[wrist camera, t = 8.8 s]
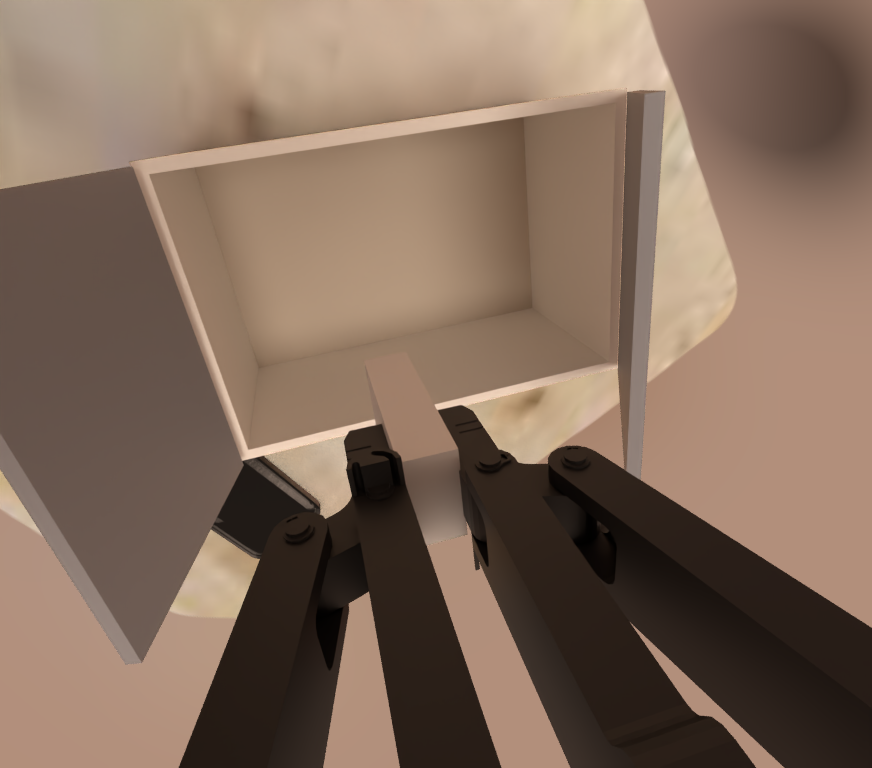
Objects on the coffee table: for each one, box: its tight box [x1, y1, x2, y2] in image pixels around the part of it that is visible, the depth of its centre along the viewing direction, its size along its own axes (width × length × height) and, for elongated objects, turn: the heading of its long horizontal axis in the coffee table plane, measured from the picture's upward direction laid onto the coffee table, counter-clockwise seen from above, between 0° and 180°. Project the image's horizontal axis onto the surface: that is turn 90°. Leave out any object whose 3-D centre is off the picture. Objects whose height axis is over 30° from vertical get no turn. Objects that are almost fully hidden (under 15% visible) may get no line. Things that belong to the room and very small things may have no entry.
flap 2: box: [618, 90, 665, 479], centre depth 25 cm, size 16×12×1 cm
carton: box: [129, 88, 627, 461], centre depth 33 cm, size 16×24×12 cm, turn 99°
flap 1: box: [0, 167, 244, 664], centre depth 20 cm, size 16×12×1 cm
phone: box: [211, 456, 320, 559], centre depth 44 cm, size 8×1×15 cm
